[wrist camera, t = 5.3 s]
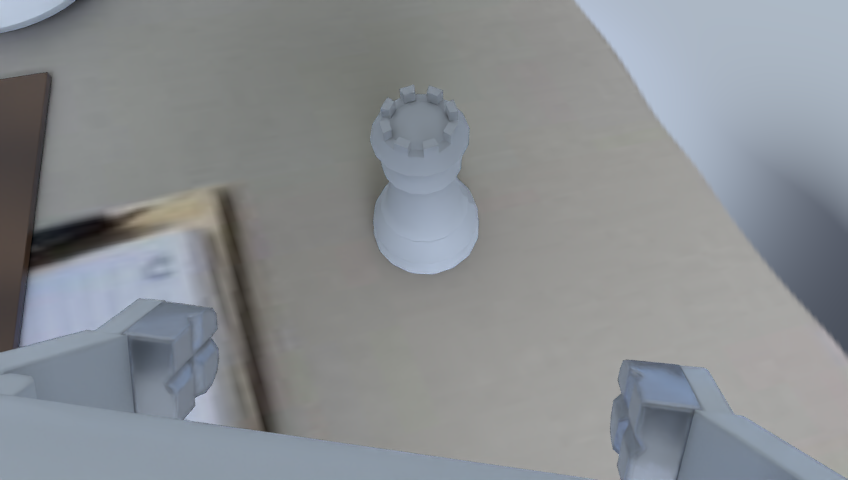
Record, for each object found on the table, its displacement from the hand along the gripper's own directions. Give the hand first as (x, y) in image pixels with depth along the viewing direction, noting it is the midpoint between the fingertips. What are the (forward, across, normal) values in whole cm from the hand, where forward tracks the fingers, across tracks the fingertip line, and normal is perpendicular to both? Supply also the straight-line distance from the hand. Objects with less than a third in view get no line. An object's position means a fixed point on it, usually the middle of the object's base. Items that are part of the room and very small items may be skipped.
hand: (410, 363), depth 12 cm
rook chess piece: (+15, +1, +2) cm, 15 cm away
